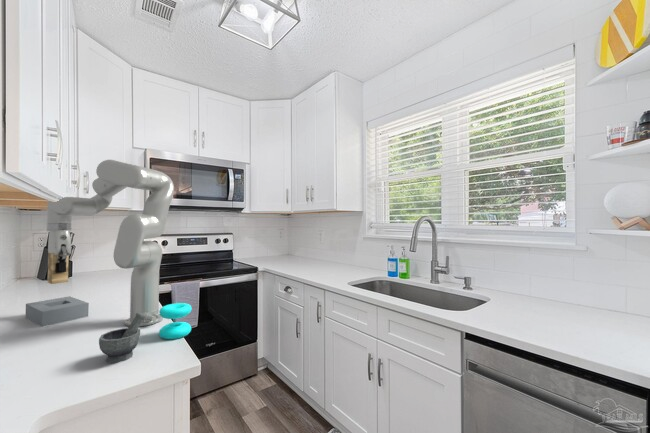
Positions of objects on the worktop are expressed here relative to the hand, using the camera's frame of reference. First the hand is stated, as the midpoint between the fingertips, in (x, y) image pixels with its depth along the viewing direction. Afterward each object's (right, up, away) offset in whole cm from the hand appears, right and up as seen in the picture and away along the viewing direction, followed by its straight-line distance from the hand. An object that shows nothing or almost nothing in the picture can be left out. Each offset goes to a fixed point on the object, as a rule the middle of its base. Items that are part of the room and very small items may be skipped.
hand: (58, 271), depth 119 cm
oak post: (0, -5, 0) cm, 5 cm away
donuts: (+58, -19, -19) cm, 64 cm away
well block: (0, -19, 0) cm, 19 cm away
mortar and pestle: (+51, -18, -35) cm, 65 cm away
